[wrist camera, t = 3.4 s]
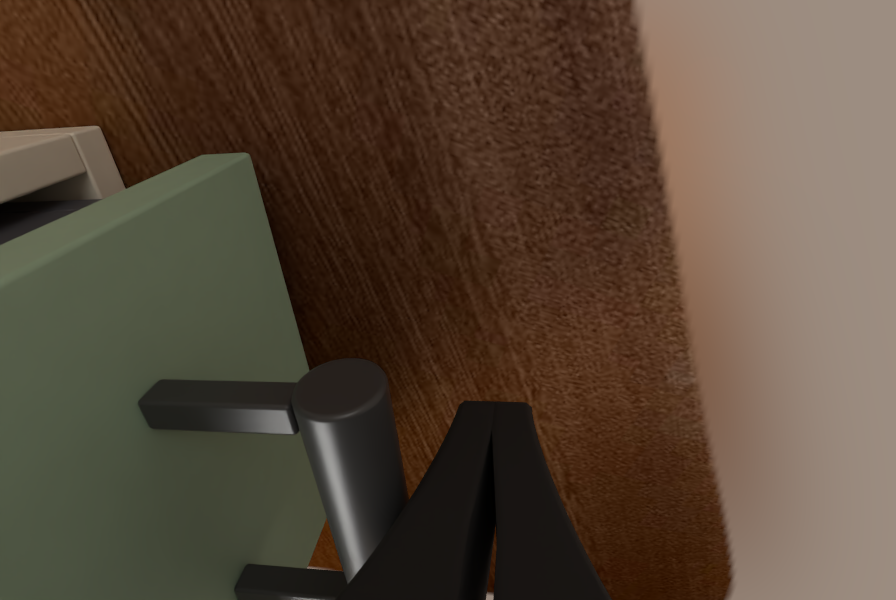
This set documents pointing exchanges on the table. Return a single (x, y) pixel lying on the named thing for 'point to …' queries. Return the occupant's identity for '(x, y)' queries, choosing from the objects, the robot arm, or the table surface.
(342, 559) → the drawer
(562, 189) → the table surface
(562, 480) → the table surface
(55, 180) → the storage box
